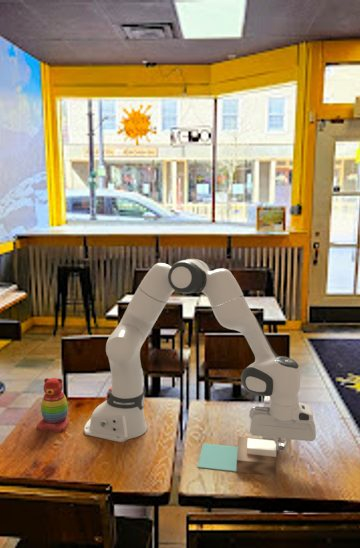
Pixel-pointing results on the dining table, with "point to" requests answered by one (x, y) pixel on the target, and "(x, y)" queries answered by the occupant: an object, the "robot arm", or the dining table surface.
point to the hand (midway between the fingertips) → (281, 449)
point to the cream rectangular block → (261, 447)
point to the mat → (218, 457)
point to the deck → (254, 460)
